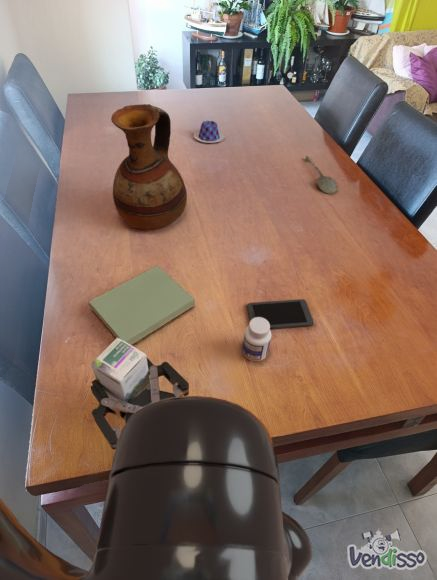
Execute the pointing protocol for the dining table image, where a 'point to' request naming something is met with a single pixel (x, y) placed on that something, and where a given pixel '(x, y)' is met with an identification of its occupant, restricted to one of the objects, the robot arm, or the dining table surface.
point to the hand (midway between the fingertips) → (115, 369)
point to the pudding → (209, 132)
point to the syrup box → (122, 371)
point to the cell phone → (282, 313)
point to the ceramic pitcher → (147, 170)
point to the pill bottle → (257, 339)
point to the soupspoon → (324, 181)
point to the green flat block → (141, 305)
